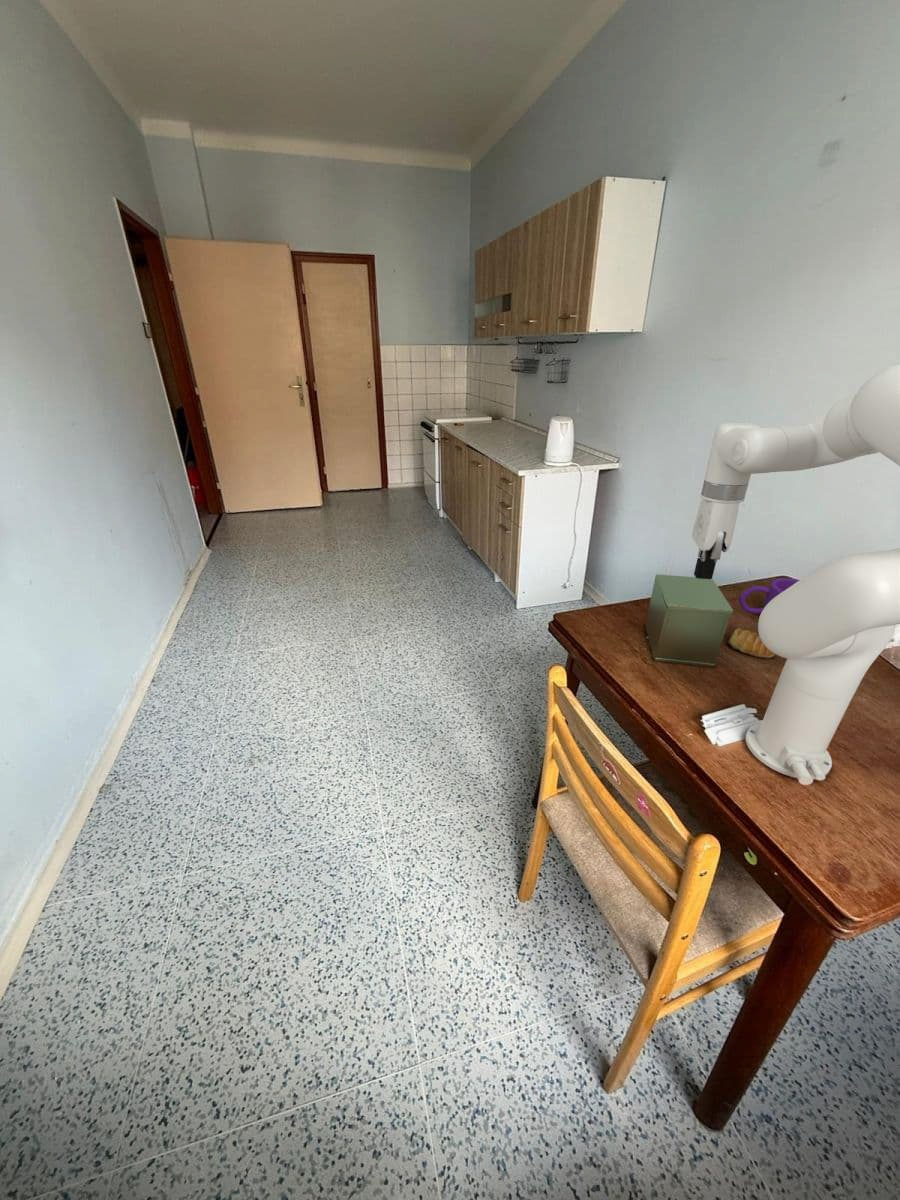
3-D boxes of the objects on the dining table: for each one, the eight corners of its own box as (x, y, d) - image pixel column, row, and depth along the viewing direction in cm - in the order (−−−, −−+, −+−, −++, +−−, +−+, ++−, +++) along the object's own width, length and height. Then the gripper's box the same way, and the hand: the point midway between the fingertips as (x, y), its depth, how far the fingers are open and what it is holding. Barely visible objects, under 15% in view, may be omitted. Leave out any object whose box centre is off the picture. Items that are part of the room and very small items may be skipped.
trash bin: (714, 667, 105) (730, 613, 98) (654, 660, 107) (666, 608, 101) (698, 630, 118) (711, 581, 112) (645, 625, 121) (655, 577, 114)
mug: (804, 614, 124) (817, 580, 120) (818, 636, 115) (833, 600, 110) (730, 605, 129) (740, 572, 125) (737, 625, 120) (748, 590, 115)
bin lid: (732, 614, 97) (733, 610, 97) (667, 608, 100) (668, 605, 100) (711, 581, 112) (712, 578, 111) (655, 577, 114) (655, 574, 114)
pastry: (777, 651, 110) (783, 637, 108) (769, 663, 106) (774, 649, 104) (734, 636, 116) (738, 623, 114) (724, 647, 112) (728, 634, 110)
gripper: (693, 481, 98) (676, 562, 107) (712, 500, 85) (691, 591, 94) (733, 482, 97) (712, 565, 105) (758, 501, 84) (732, 594, 92)
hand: (702, 577), depth 99 cm, fingers closed
